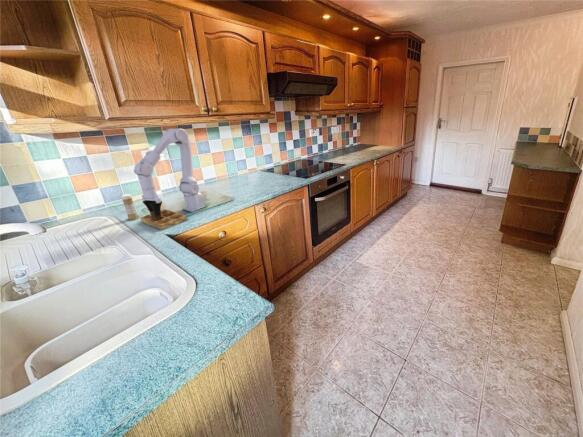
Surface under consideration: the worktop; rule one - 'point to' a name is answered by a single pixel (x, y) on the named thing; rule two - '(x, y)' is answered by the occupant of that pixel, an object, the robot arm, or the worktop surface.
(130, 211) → the sprinkles bottle
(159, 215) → the token
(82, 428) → the worktop surface
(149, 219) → the grid
